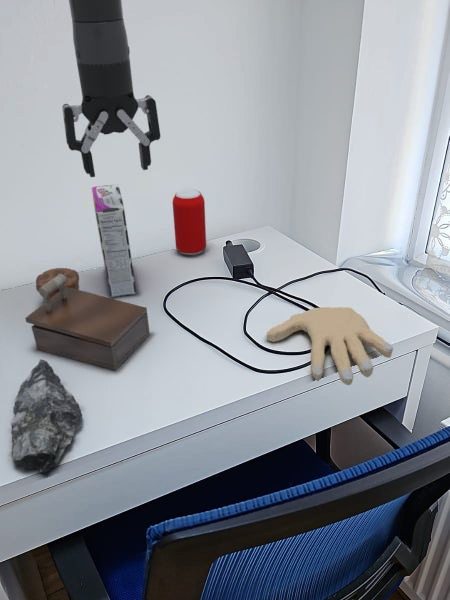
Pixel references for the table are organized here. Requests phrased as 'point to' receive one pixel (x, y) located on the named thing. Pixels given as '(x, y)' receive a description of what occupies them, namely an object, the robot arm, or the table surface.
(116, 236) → the candy bar box
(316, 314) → the hand model
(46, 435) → the rock
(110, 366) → the brown wooden box
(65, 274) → the artifact
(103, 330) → the cover
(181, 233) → the beverage can
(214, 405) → the table surface
